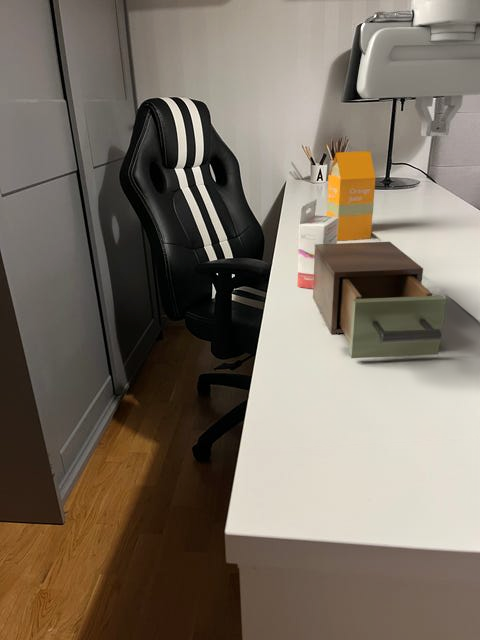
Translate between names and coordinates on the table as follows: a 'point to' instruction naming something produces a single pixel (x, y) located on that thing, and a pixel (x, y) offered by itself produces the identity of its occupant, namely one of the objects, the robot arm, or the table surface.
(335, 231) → the ink cartridge box
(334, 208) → the orange juice
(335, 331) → the cabinet
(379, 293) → the drawer
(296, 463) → the table surface
